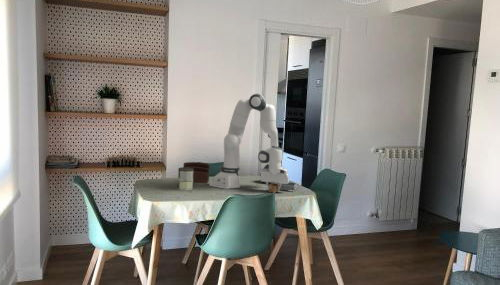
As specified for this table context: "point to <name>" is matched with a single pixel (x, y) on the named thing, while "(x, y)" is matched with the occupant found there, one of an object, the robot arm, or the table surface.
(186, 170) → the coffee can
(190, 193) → the table surface
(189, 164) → the letter holder
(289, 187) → the charcoal crate
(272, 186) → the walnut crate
